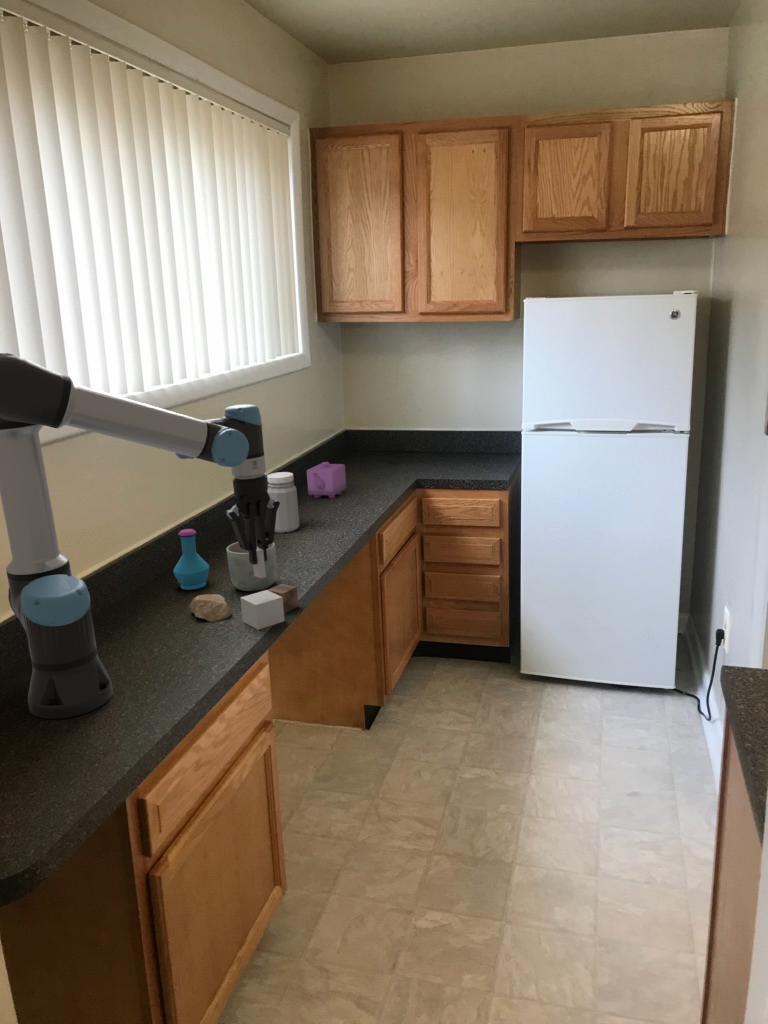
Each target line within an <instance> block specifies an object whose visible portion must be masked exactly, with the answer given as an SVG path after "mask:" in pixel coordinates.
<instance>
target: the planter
mask: <svg viewBox="0 0 768 1024" xmlns="http://www.w3.org/2000/svg"><path fill="white" fill-rule="evenodd" d="M256 543H257V540H256ZM268 546H269V547H268V549H266V552H267V561H265V572H266V577H264V578H258V577H256V576H254V568H253V564H251V563H250V560H249V552H248V550H244V549H242V548H240V546H239V543H238V541H236V542H234V543H231V544H229V545H228V546H226V555H227V563H228V570H229V571H228V572H229V575H230V580H231V583H232V585H233V586H234V588H236V589H237V590H239V591H242V592H259V591H264V590H267V588H268V589H269V588H270V587H272V585H274V583H275V582H276V578H277V558H276V543H275V542H274V541H273V543H272V544H269V545H268ZM257 547H258V546H257Z"/></svg>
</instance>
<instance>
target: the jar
mask: <svg viewBox="0 0 768 1024" xmlns="http://www.w3.org/2000/svg"><path fill="white" fill-rule="evenodd" d="M266 476H267V484H268V490H267V492H268V494H269V496H270V499H272V500H275V501H279V502H280V505H279V507H278V510H277V513H276V522H275V532H274V533H278V534H279V533H280V534H285V532H287V533H291V531H292V532H295V531H297V530H298V528H299V527H300V517H299V516H300V515H299V505H298V502H299V501H298V493H297V487H296V485H295V482H294V473H293V472H289V471H281V472H280V471H279V472H273V473H270V474H269V473H268V474H267V475H266ZM296 529H297V530H296ZM294 530H295V531H294Z"/></svg>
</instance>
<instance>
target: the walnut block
mask: <svg viewBox="0 0 768 1024" xmlns="http://www.w3.org/2000/svg"><path fill="white" fill-rule="evenodd" d="M267 590H268V591H270V592H272V593H274V594H277V595H279V596H281V597H282V599H283V610H284V614H285V613H288V612H290V611H292V610H293V609H296V608H298V607H299V596H298V587H297V586H295V585H289V584H286V583H280V584H278V585H276V586H273V587H271V588H268V589H267Z"/></svg>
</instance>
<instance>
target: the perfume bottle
mask: <svg viewBox="0 0 768 1024" xmlns="http://www.w3.org/2000/svg"><path fill="white" fill-rule="evenodd" d="M196 534H197V531H196V530H194V528H185V529H181V530H180V531H179V532H178V533H177V535H179V539H180V543H181V544H180V545H181V550H182V551H181V553H182V554H181V557H180V558H179V560H178V562H177V563H176V565H175V566H174V568H173V575H174V577H175V578H176V579H177V582H178V584H180V588H181V589H182V590H186V591H187V590H188V591H190V590H191V591H192V590H198V589H201V588H203V587H205V586H206V585H207V582H206V580H207V579H208V576H209V572H210V564H208V563H207V561H205V560H204V558H203V557H201V556H200V554H199V553H197V546H196Z"/></svg>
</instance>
